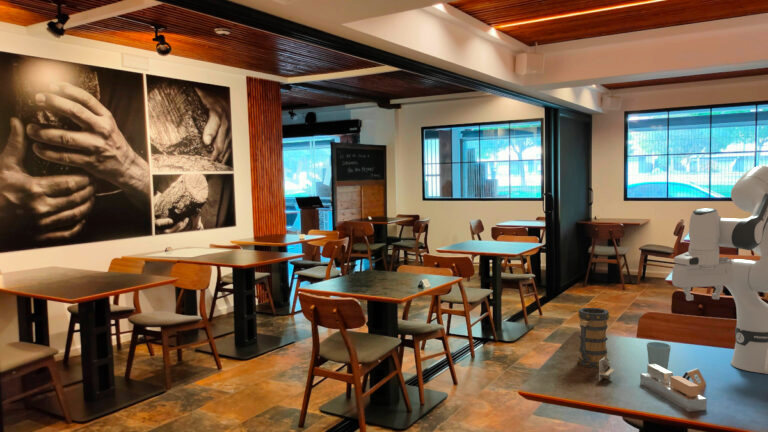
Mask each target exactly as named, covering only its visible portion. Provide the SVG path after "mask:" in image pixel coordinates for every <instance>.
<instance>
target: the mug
mask: <svg viewBox="0 0 768 432" xmlns="http://www.w3.org/2000/svg"><path fill="white" fill-rule="evenodd" d="M576 316H578V318H579V327H580V335H579V337H578V338H580V346H579V349H578V351H579V355H578V356H576V358H577V359H578V360H576V362H577V363H579V364H580V365H582V366H584V367H589V368H598V369H599V361H600V360H601V359H603V358H604V357H605V360H607V362H608V364H609V365H610V363H609V361H610V359H608V356H607V354H608V349H607V345H606V344H607V343H606V342H607V341H608V339H609V338H608V337H607V329H608V320H609V318H611V313H610V312H609V310H608V309H606V308H605V309H604V308H599V307H581V308H579V309H578V311H577V314H576Z"/></svg>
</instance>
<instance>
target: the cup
mask: <svg viewBox="0 0 768 432" xmlns="http://www.w3.org/2000/svg"><path fill="white" fill-rule="evenodd" d="M671 348H672V346H671V345H670V344H669V343H666V342H660V341H649V342H647V343H646V350H647V360H648V364H657V365H659V366H661V367H663V368H665V369H667V370H669V369H668V367H669V361H670V354H671Z"/></svg>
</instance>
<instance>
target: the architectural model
mask: <svg viewBox="0 0 768 432" xmlns="http://www.w3.org/2000/svg"><path fill="white" fill-rule="evenodd" d="M608 363H609V361H608V362H607V360H605V357H604V358H603V359H601V360H600V361H599V368H598V382H600V381H602V380H603V379H604V380H608V379H609V378H611V374H612V373H613V372H614V371H615V369H613V368H611V366H610V363H609V364H608Z"/></svg>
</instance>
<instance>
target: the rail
mask: <svg viewBox="0 0 768 432" xmlns="http://www.w3.org/2000/svg"><path fill="white" fill-rule="evenodd" d="M646 366H647V370H646V371H647V372H643V373H640V374H639V375H640V379H639V380H640V382H639V383H640V385H642V386H644V387H646V388H647V389H649V390H650V391H652V392H653V393H656V395H659V396H660V397H662V398H664V399H665V400H666V401H667V400H668V401H669V402H671V403H672V402H673V403H672V404H675V405H676V406H677V407H679V408H681V409H683V410H685V411H686V412H688V413H689V412H700V411H702V412H703V411H707V398H706V397H704V396H702V395H700V394H699V396H695V398H688V397H686V394H685V393H683V392H681V391H675V390H674V387H672V386H670V381H671V376H674V372H673V371H670V370H669V369H665V368H663V367H661V366H659V365H657V364H649V363H648V364H647V365H646Z"/></svg>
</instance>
